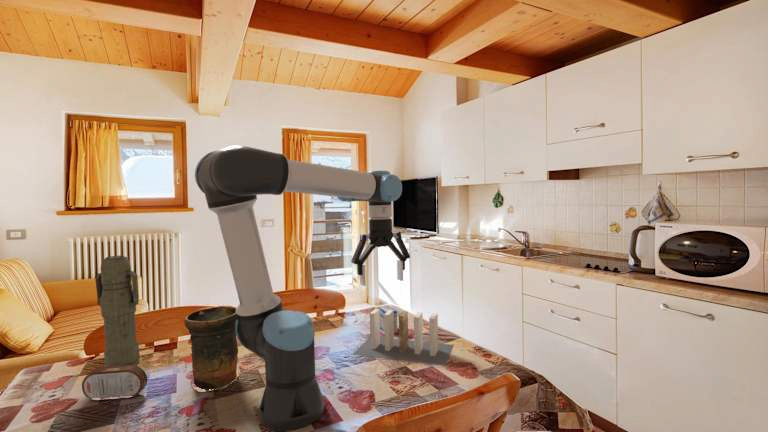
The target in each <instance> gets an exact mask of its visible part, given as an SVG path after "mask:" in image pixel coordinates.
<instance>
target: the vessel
mask: <svg viewBox="0 0 768 432" xmlns="http://www.w3.org/2000/svg"><path fill="white" fill-rule="evenodd" d="M237 307H238V306H232V305H217V306H207V307H202V308H199V309H196V310H194V311H192V312H191V313H189V314H188V315H186V316H185V317H184V320H183V321H184V326H185V328H186V329H187V330H188V334H190V337H189V339H190V342H191V348H190V349H191V363H192V364H191V366H192V375H193V382H194V384H195V385H196V386H197V387H199V388H201V389H205V390H209V389H211V390H212V389H220V390H219V391H221V390H224V389H226V388H228V387H227V385H229V384H230V385H231V384H232V383H231V382H232V381H234V380H235V379H236V377H239V376H240V374H239V370H238V369H237V368H238V363H239V359H238V355H239V354H238V353H239V348H238V347H239V346H238V338H237V335H236V330H235V326H236V321H237V315H236V309H237ZM230 385H229V386H230ZM221 388H222V389H221Z"/></svg>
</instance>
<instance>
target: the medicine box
mask: <svg viewBox="0 0 768 432" xmlns="http://www.w3.org/2000/svg"><path fill="white" fill-rule="evenodd" d="M377 309H379V314H380V331H382V332H383V333H385V332H384V314H385V313H386V312H387V311H388V310H393V316H394V334H395V333H398V311H397V310H396V309H394V308H393V307H391V306H389V305H384V306H383V305H382V306H378V307H377Z"/></svg>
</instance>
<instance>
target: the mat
mask: <svg viewBox="0 0 768 432" xmlns="http://www.w3.org/2000/svg"><path fill="white" fill-rule="evenodd" d="M454 346H455V345H454V344H449V343H439V342H438V351H437V353H436V355H435V356H430V341H429V342H428V341H423V349H422V351H421V353H420V354H415V347H414V340H409V339H408V348H407V350H406V351H405V353H402V352H400V349H399V338H394V346H393V347H392V349H391V350H390V351H385V337H381V336H380V345H379V346H378V347H377V348H376V349H371V340H370V336H369V337H368V338H367V339H366V340H365V341H364V342H363V343H362V344H361V345H360V346H359V347H358V348H356V349H355V351H354V352H353V353H352V355H356V356H365V357H372V358H378V359H379V358H380V359H390V360H397V361H405V362H413V363H421V364H430V365H438V366H439V365H440V366H446V365H447V361H448V360H449V358H450V355H451V352H452V350H453V347H454Z"/></svg>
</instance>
